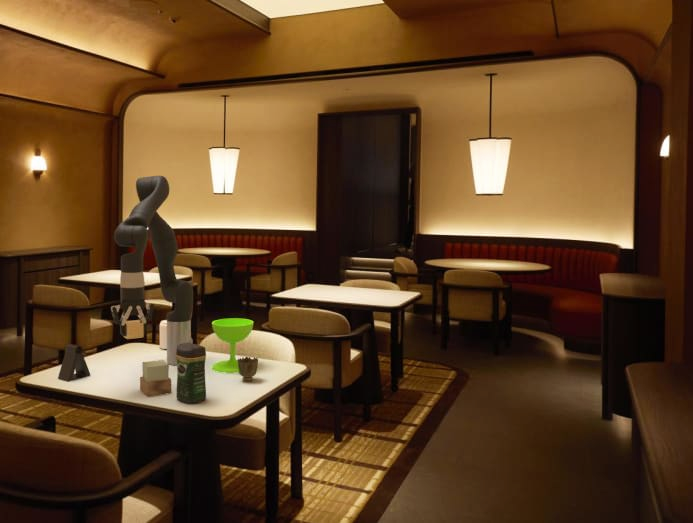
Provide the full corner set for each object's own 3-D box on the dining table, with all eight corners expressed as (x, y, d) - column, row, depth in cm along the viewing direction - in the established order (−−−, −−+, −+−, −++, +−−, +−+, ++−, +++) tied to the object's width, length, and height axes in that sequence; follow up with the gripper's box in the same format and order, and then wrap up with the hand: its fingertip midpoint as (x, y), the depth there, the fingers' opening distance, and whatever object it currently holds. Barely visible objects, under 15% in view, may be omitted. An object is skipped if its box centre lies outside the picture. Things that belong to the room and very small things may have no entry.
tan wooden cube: (139, 334, 203) (138, 319, 202) (143, 337, 198) (143, 322, 198) (122, 336, 200) (122, 321, 199) (127, 339, 195) (126, 324, 195)
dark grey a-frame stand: (67, 381, 209) (67, 348, 208) (57, 379, 212) (57, 346, 211) (90, 375, 217) (90, 343, 216) (80, 373, 220) (79, 341, 219)
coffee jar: (210, 400, 193) (210, 344, 191) (189, 406, 187) (189, 348, 185) (193, 393, 199) (192, 339, 197) (172, 399, 193) (172, 343, 191)
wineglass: (206, 364, 235) (206, 320, 233) (244, 360, 243) (244, 317, 241) (219, 375, 221) (219, 327, 219) (259, 370, 229) (259, 324, 227)
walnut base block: (163, 387, 206) (163, 373, 205) (171, 393, 199) (171, 379, 199) (140, 391, 201) (139, 376, 201) (147, 397, 195) (147, 382, 194)
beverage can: (161, 351, 255) (161, 323, 254) (158, 346, 262) (157, 320, 261) (180, 349, 259) (180, 322, 258) (176, 345, 266) (176, 319, 265)
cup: (261, 379, 217) (261, 357, 216) (252, 384, 210) (252, 362, 210) (243, 376, 220) (243, 355, 219) (233, 382, 213) (233, 360, 212)
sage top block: (163, 374, 205) (163, 359, 204) (168, 379, 199) (168, 364, 198) (142, 376, 201) (142, 362, 201) (147, 382, 195) (146, 367, 195)
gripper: (150, 282, 204) (151, 330, 206) (107, 285, 196) (108, 335, 198) (157, 285, 198) (158, 334, 200) (112, 288, 190) (113, 339, 192)
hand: (133, 334), depth 199 cm, fingers closed on tan wooden cube, 5 cm apart
